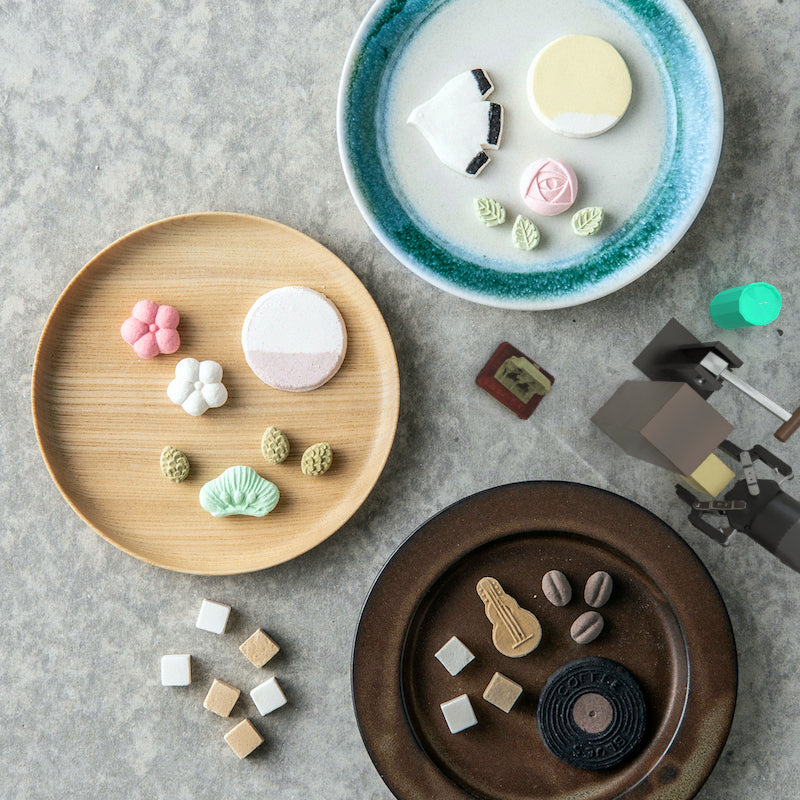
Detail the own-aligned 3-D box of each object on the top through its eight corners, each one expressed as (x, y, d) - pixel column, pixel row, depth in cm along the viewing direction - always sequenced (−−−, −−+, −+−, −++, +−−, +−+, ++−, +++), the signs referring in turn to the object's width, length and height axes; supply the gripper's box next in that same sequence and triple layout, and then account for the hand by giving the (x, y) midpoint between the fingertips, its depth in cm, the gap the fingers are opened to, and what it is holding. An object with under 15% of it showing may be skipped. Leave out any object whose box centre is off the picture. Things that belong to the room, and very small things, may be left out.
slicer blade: (812, 412, 91) (816, 408, 89) (783, 444, 92) (786, 441, 89) (717, 347, 97) (718, 341, 95) (690, 377, 97) (690, 372, 95)
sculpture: (470, 383, 108) (479, 385, 93) (501, 340, 108) (516, 335, 93) (522, 421, 108) (540, 429, 93) (554, 377, 108) (577, 379, 93)
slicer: (729, 370, 108) (776, 370, 94) (688, 415, 108) (729, 421, 94) (670, 317, 107) (708, 309, 94) (629, 362, 108) (661, 361, 94)
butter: (712, 467, 108) (736, 475, 100) (692, 488, 108) (715, 498, 100) (688, 445, 108) (710, 451, 100) (668, 466, 108) (689, 474, 100)
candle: (702, 326, 107) (739, 320, 95) (710, 286, 107) (748, 276, 95) (742, 333, 107) (783, 328, 95) (749, 294, 107) (792, 284, 95)
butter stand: (663, 415, 108) (735, 428, 84) (626, 454, 108) (688, 478, 84) (624, 379, 108) (685, 382, 84) (588, 418, 108) (638, 432, 84)
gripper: (834, 485, 89) (726, 417, 100) (754, 569, 89) (656, 492, 101) (839, 506, 94) (736, 439, 105) (764, 585, 95) (669, 510, 106)
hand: (697, 465), depth 103 cm, fingers open, 8 cm apart
